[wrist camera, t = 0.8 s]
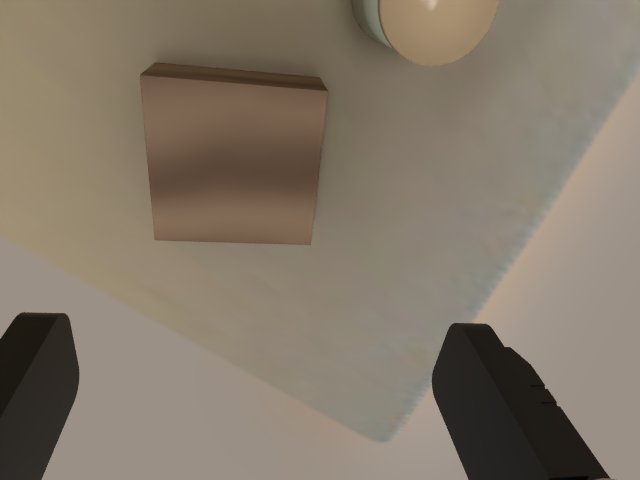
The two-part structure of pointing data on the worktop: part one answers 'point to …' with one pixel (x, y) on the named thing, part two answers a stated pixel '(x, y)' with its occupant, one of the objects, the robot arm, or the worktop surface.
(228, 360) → the worktop surface
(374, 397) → the worktop surface
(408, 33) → the jar
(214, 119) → the plinth
